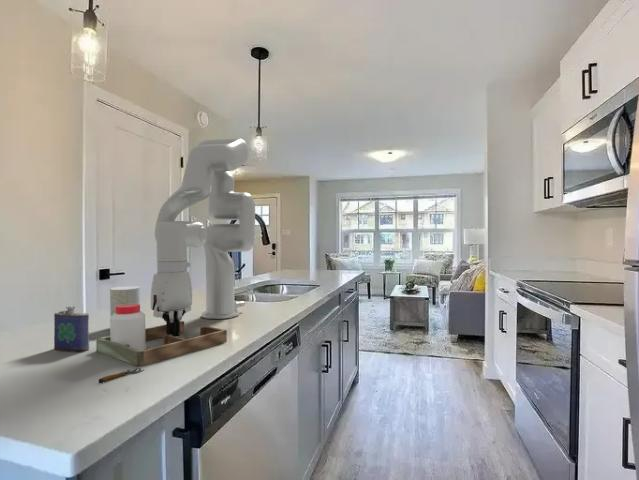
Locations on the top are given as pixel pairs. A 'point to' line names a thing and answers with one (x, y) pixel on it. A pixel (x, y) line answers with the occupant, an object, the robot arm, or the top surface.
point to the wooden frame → (167, 350)
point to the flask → (71, 331)
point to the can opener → (119, 375)
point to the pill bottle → (128, 326)
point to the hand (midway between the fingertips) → (173, 335)
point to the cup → (123, 296)
